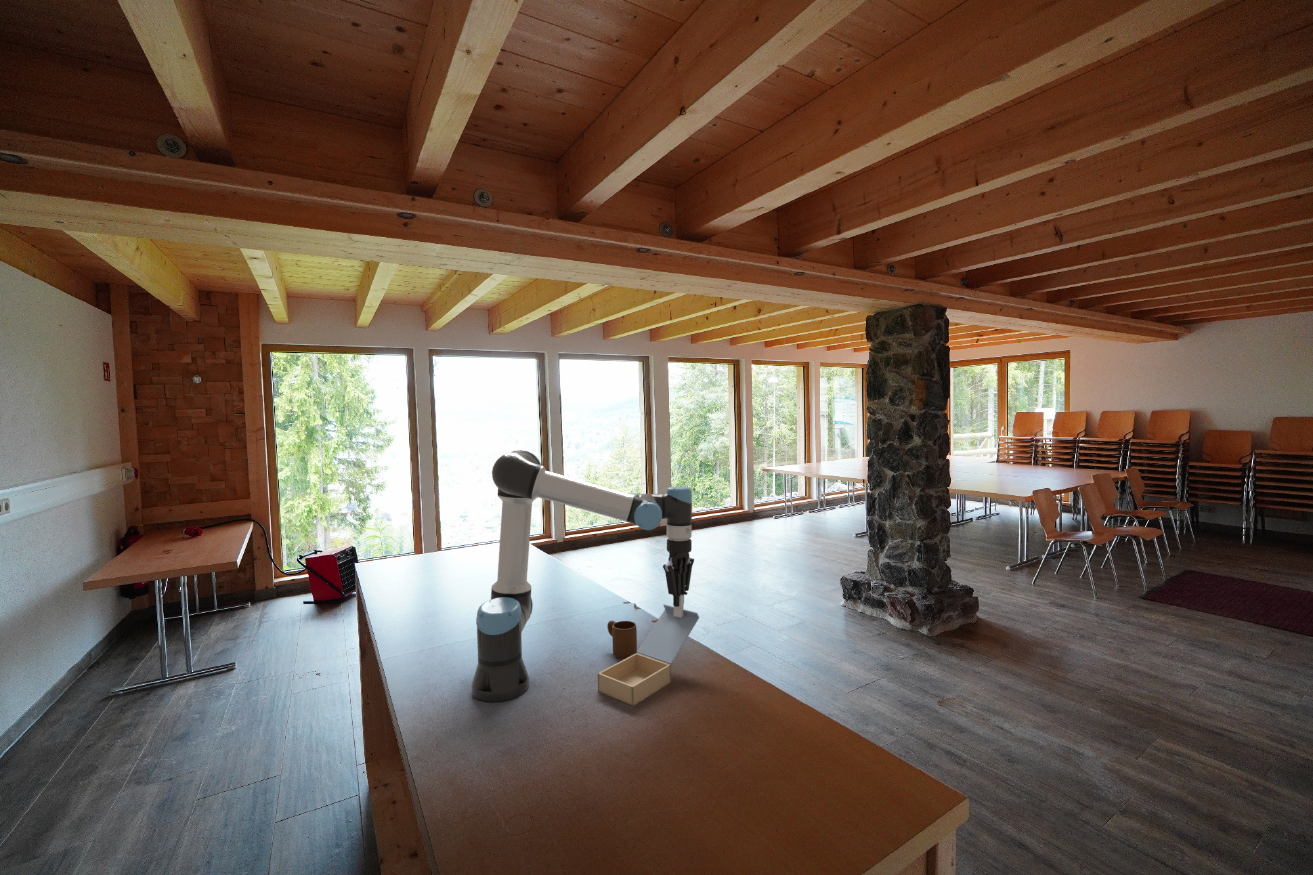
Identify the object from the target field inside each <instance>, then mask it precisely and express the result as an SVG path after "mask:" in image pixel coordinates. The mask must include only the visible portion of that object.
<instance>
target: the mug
mask: <svg viewBox="0 0 1313 875" xmlns="http://www.w3.org/2000/svg"><path fill="white" fill-rule="evenodd" d="M606 629H607V631H608V634H609V635H610V636H611V637H612V638H611V639H612V640H611V641H612V654H613V657H615V658H616V659H619V660H624V659H626V658H628V657H630V656H632V655H634V654H636V653H637V651H638V632H637V631H638V629H637V624H636V623H635V622H634V621H631V620H621V621H617V622H616V621H615V620H609V621H608V622H607V628H606ZM637 654H638V653H637Z"/></svg>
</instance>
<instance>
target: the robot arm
mask: <svg viewBox="0 0 1313 875" xmlns="http://www.w3.org/2000/svg"><path fill="white" fill-rule="evenodd" d="M491 477H492V480H493V484H494V485H495V486H496V487H497V497H498V498H499V499H500V500H501V502H502V504H501V519H500V520H501V521H500V531H499V532H500V535H499V549H498V564H497V578H496V579H497V580H496V581H495V582H494V583H493V584H492V585H491V591H490V599H489V601H487V600H486V601H484V602H483V603H482V604H481V605H480V606H479V607H478V609H477V611H476V617H475V618H476V619H475V623H476V638H477V666H476V670H475V673H474V676H473V679H472V682H471V694H472V696H473V698H475V699H476V700H478V701H480V702H481V701H482V702H487V703H488V702H489V703H491V702H493V703H495V702H505V701H509V700H511V699H515V698H517V697H519V696H521V695H523V694H524V693H525V692H526V691H527V690H528V688H529V686H530V676H529V673H528V670H527V667H526V665H525V662H524V659H523V653H522V652H523V646H522V644H523V642H522V634H523V633H522V632H523V630H524V629H525V627H526V624H527V622H528V621H529V620H530V618H531V615H532V613H533V607H534V606H533V605H534V604H533V599H532V584H531V583H529V582H528V569H529V568H528V567H529V553H530V542H531V541H530V540H531V539H530V538H531V524H532V509H533V502H534V501H535V500H536V499H538V498H540V499H543V500H547V501H551V502H554V503H559V504H561V505H563V506H567V507H571V508H576V509H580V510H584V511H585V512H586V511H587V512H590V513H595V514H597V515H602V516H605V517H608V518H613V519H615V520H619V521H623V522H626V523H629V524H633V525H636V526H637V527H639V528H640V529H642V530H644V531H651V530H654V529H657V527H658V526H659V525H660V524H661V522H662V520H666V537H667V539H666V551H667V552H668V557H667V558H668V560H667V561H668V562H667V563H666V564H663V565H662V568H663V571H664V572H665V573H664V574H665V580H666V586H667V592H668V593H667V594H668V595H672V599H673V601H672V602H673V603H672V605H673V606H672V607H674V616H676V617H680V618H682V617H683V609H684V604H685V596H687V595H688V592H689V590H690V584H691V578H692V576H691V575H692V570H693V565H694V562H695V559H694V558H692V557H690V553H691V552H692V549H693V548H692V546H693V545H692V544H693V543H692V542H693V541H692V539H691V538H692V536H693V535H692V532H693V531H692V524H693V522H692V520H693V499H692V498H693V495H692V490H691V489H690V488H689V487H688V486H687V487H686V486H670V487H667V490H666V492H665V493H626V492H623V491H619V490H615V489H611V488H609V487H608V488H607V487H606V486H605V487H604V486H601V485H599V484H598V485H597V484H595V483H591V482H588V481H583V480H580V479H577V478H573V477H570V476H566V475H563V474H560V473H556V472H552V471H547V469H546V468H545V466H544V465H542V464H541V461H540V459H539V458H538V457H537V456H536V455H535V454H534V453H533V452H530V451H528V450H522V449H520V450H519V449H518V450H512V451H511V452H508V453H505V454H503V455H501V456H500V457H499V458H498V459H496V460H495V462H494V464H493V466H492V471H491Z"/></svg>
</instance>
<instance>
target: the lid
mask: <svg viewBox="0 0 1313 875" xmlns="http://www.w3.org/2000/svg"><path fill="white" fill-rule="evenodd" d="M662 606H663V608H664V610H663V611H662V613H661V614H660V616H659V617H658V619H657V620H656V622H655V624H654V625H653V627H652V628H651V630H650V631H649V633H648V634H647V636H646V637H645V639H644V640H643V642H642V643H641V645H640V647H639V648H637V654H640V655H643V656H646V657H649V658H652V659H655V660H658V661H661V662H664V663H667V664H670V665H672V664H673V662H674V661H675V659H676V657H677V655H678V654H679V652H680V651H681V649H682V647H683V645H684V644H685V642H686V641H687V639H688V637H689V636H690V634H691V633H692V631H693V630H694V627H695V626H696V624H697V622H698V620H699V619H700V616H699V613H698V612H695V611H692V610H688V609H684V608H683V617H682V618H680V617H676V616H674V606H672V605H668V604H664V603H663V605H662Z"/></svg>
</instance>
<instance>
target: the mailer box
mask: <svg viewBox="0 0 1313 875" xmlns="http://www.w3.org/2000/svg"><path fill="white" fill-rule="evenodd" d="M671 668H672V664H670V663H667V662H664V661H661V660H658V659H655V658H652V657H649V656H646V655H643V654H640V653H636V654H634V655H632V656H630V657H628V658H626V659H621V661H619V662H616V663H614V664H613V665H611V666H609V667H607V668H605V669H604V670H602V671H599V672H597V692H598V693H600V694H602V695H605V696H607V697H610V698H613V699H615V700H617V701H619V702H622V703H623V704H627V705H629V706H631V707H635V706H637V705H638V704H639V703H641V702H642V701H644V700H645V699H647V698H649V697H650V696H652V695H653V694H655V693H657V692H658V691H660V690H661V689H663V688H664V687H666V686H668V685H669V684H671V683H672V680H671V679H672V670H671Z"/></svg>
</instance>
